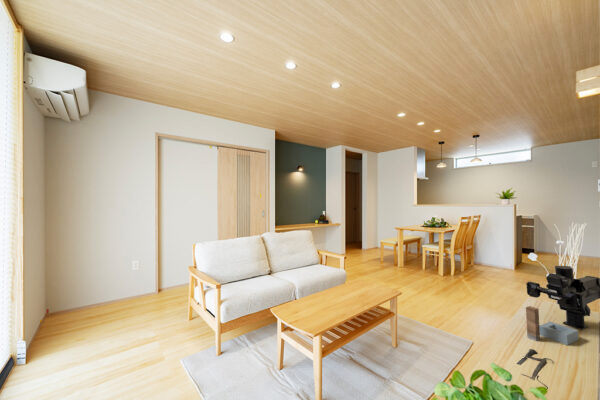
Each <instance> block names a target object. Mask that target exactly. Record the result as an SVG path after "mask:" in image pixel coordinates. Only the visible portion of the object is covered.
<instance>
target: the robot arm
mask: <svg viewBox="0 0 600 400" xmlns="http://www.w3.org/2000/svg"><path fill="white" fill-rule="evenodd" d="M554 271H555V273H552V272H551V273H549V274H547V276H546V277H545V279H546V281H547V283H546V286H545V287H541V284H540V283H538V282H535V281H528V282H526V283H525V284H526V294H527V295H528V296H529V297H532V298H537V299H538V298H540V296H541V294H545V295H547V296H548V299H550V300H554V301H556V304H557V305H558V306H559V310H561V311H565V319H566V320H565V321H563V322H562V325H563V324H564V325H565V326H566V325H567V326H570V327H571V328H572V327H573V328H574V329H579V330H584V329H586V328H589V325H588V324H585V323H586V322H585V317H591V308H590V307H589V305H588V304H590V303H593V302H595V301H596V300H597V301H598V300H600V277H598V276H597V277H596V276H592V275H591V276H590V275H585V276H584V277H579V278H574V268H573V267H572V266H570V265H555V266H554Z"/></svg>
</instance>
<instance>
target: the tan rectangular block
mask: <svg viewBox="0 0 600 400" xmlns="http://www.w3.org/2000/svg"><path fill="white" fill-rule="evenodd" d="M539 310H540V309H539V308H538V307H535V306H531V305H529V306H526V307H525V315H526V316H525V317H526V318H525V319H526V333H527V334H526V335H527V336H526V337H527V339H529V340H533V341H535V342H537V341H540V340H541V335H540V328H539V325H540V313H539V312H540V311H539Z"/></svg>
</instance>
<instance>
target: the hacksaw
mask: <svg viewBox="0 0 600 400" xmlns="http://www.w3.org/2000/svg"><path fill="white" fill-rule="evenodd" d="M537 354H538V352H537V350H535V349H534V348H533V349H532V348H529V349H528V352H526V353H525V355H524V356H523V357H524V358H522V357H521V358H522V359H521V358H520V359H521V360H520V359H519V360H518V361H517V363H516V365H518V366H519V365H521V366H522V364H523V363H524V362H525V361H526V360H528V359H532V360H534V361H539V362H538V364H537V365H536V367H535V369H534V370H533V373H532V375H531V376H529V375H527V374H524V373H521V376H525V377H527V378H529V379H531V380H532V381H535V380H536V381H538V382H539V383H541V384H542V385H543V386H544V387H545V388H546V387H547V389H546V390H548V386H547V385H546V384H545V383H543V382H541V381H540V380H539V377H540V375H538V374H539V373H540V371H541V370H542V368H543V367H545V364H546V363H547V360H550V361H551V363H554V361H553V360H552V359H551V358H548V357H544V358H540V357H535V356H533V355H537ZM526 357H528V358H526ZM535 388H537V386H535Z"/></svg>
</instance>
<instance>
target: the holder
mask: <svg viewBox="0 0 600 400" xmlns="http://www.w3.org/2000/svg"><path fill="white" fill-rule="evenodd" d="M539 328H540V337H541V336H542V337H544V338H547V339H550V340H552V341H555V342H557V343H560V344H564V345H566V346H569V345H572V344H573V343H575V342H577V341H579V330H578V329H576V328H572V327H568V326H566V325H563V324H560V323H559V324H558V323H557V322H556V323H555V322H554V321H548V322H545V323H542V324H539Z"/></svg>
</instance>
